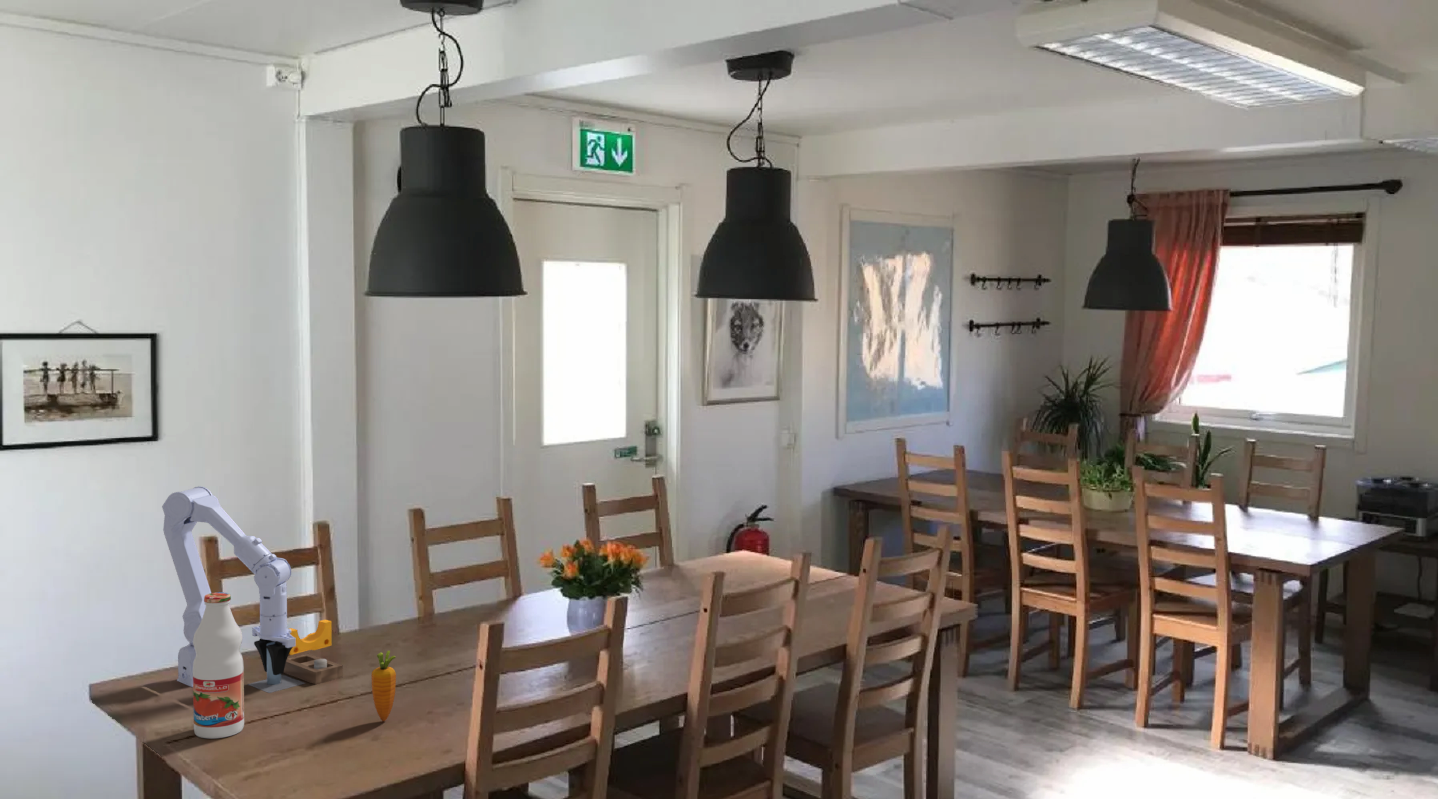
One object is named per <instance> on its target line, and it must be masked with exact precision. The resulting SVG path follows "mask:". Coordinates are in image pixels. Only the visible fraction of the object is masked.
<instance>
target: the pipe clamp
mask: <svg viewBox="0 0 1438 799" xmlns="http://www.w3.org/2000/svg"><path fill="white" fill-rule="evenodd" d="M288 629H291V633H290V634H291V635H292V636H293V637H294V638H296V646H294V647H293V648H292V649H291V651H290V653H289V655H290V656H293V655H296V654H301V653H303V652H307V651H311V650H312V651H316V650H320V649H324V648H328V647H330V646H333V645H332V641H333V640H332V634H333V633H332V632H333V631H332V629H333V628H332V620H328V619H322V620H318V624H317V628H316V630H315V631H314V632H311V633H308V634H307V635H306V636H305V637H303V638H300V636H299V632H298V629H295V628H291V627H289V628H288ZM289 655H288V656H289Z"/></svg>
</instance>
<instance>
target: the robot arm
mask: <svg viewBox="0 0 1438 799" xmlns="http://www.w3.org/2000/svg"><path fill="white" fill-rule="evenodd" d="M161 508H162V510H163V513H164V518H163V519H164V520H163V529H162V530H163V533H164V534H163V535H164V537H165V540H166V544H167V547H168V550H169V553H170V557H171V560H172V562H173V565H174V568H175V569H174V570H176V575H177V577H178V580H179V583H180V586H181V589H182V593H183V595H184V599H185V602H186V607H185V610H184V611H183V613H182V619H183V635H184V637H185V639H186V640H187V642H189V644H188V645H186V646H182V647H181V648H179V650H178V653H177V670H178V671H177V672H178V673H177V675H178V678H177V679H176V681H177V682H179V683H182V684H184V685H186V686H188V687H190V688H193V663H194V659H195V657H196V651H195V648H194V644H193V638H194V634H195V632H196V630H197V629H198V627H199V625H200V623H201V620H202V618H203V615H204V611H205V608H206V605H205V604H204V603H205V602H204V597H205V595H207V594H210V593H212V590H211V587H210V585H209V581H208V579H207V576H206V572H205V570H204V567H203V562H202V560H201V558H200V553H199V550H198V547H197V545H196V542H195V538H194V535H193V529H194V528H195V526H196V525H197V523H207V524H208V525H209V526H211V527H212V528H213V529H214V530H215V531H217V533H219V534H220V535H221V536H222V537H223V538H224V539H225V540H227V542H229V543H230V544H231V545H232V546H233V554H234V555H235V557H237V558H238V559H239V561H241V562H242V563H243V565H245V567H247V568H248V570H249V571H251V573H252V574H254V575H253V579H254V583H255V584H256V586H257V588H258V592H259V593H258V594H259V625H258V626H254V627H251V630H252V631H251V632H252V634H251V635H252V636H253V637H258V638H259V639H258V640H255V641H254V642H253V646H255V648H256V650H257V651H258V654H259V656H260V659H261V664H262V666H263V671H264V672H265V673H267V649H268V651H269V654H270V657H271V663H272V671H273V675H279V674H281V675H284V673H283V672H284V668H285V664H286V660H287V658H289V653H290V651H291V649H292V648H293V647H294V646H296V638H294V637H293V636H292V635H291V634H290V633H291V629H289V628H288V601H287V600H288V598H287V597H288V594H287V593H288V592H287V591H288V590H287V589H288V586H287V584H288V582H287V581H288V580H290V577H292V576H291V575H292V568H291V565H290V563H289V562H288V561H287V559H285V558H283V557H277V555H276V554H275V553H272V552H271V551H270V550H269V549H268V548H267V547H266V546H265V545H264V544H263V540H262V539H261V538H260V537H256V536H255V535H246V533H244V531H243V530H242V529H241V528H240V526H239V525H238V524H237V523H236V522H235V521H234V519H232V517H231V516H230V515H229V514H228V513H227V512H226V511H225V509H224V508H223V507H222V505H221V504H220V501H219V499H218V497H217V496H215V494H212V491H211V490H210V489H209V488H207V487H205V486H201V485H198V486H195V487H193V488H190V489H185V490H183V491H175V492H172V493H171V494H170V495H168V497H167V498H166V499H165V501H164V503H163V504H162V506H161ZM271 642H275V644H272V645H267V644H268V643H271Z"/></svg>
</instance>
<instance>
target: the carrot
mask: <svg viewBox="0 0 1438 799" xmlns="http://www.w3.org/2000/svg"><path fill="white" fill-rule="evenodd" d="M390 653H391V650H386V653H385V658H384V653H383V651H382V652H379V653H377V655H376V657H377V659H378V664H379V666H378V667H376V668H375V669H373V670H372V671H371V692H372V693H371V695H372V699H373V703H374V707H375V710H376V713H377V715H378V716H379V719H380V720H381V721H382V722H383V723H384V722H385V721H387V720H388V718H389V716H390V714H391V711H392V709H393V705H394V701H395V696H396V688H397V687H396V686H397V685H396V684H397V682H396V681H397V672H396V670H395V669H394V668H393V667H391V666H389V665H390V663H391V662H392V661H393V660H394V659H396V656H395V655H392V656H390Z"/></svg>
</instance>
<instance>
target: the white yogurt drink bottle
mask: <svg viewBox="0 0 1438 799" xmlns="http://www.w3.org/2000/svg"><path fill="white" fill-rule="evenodd" d="M231 600H232V597H231V594H230V593H229V592H225V591H224V592H220V591H218V592H211V593H210V594H207V595H205V597H204V602H205V603H204V604H205V605H206V608H205V611H204V615H203V618H202V620H201V623H200V625H199V627H198V629H197V630H196V632H195V634H194V638H193V644H194V648H195V651H196V657H195V659H194V663H193V687H192V696H193V697H192V700H193V701H192V702H193V732H194V734H195V736H196V737H198V738H200V739H201V738H202V739H212V740H213V739H222V738H227V737H231V736H234V735H237V734H239V733H240V732H242V731H243V730H244V727H245V688H244V687H245V684H244V682H245V680H244V679H245V678H244V677H245V676H244V675H245V673H244V671H245V667H244V659H243V655H242V653H241V647H242V643H243V632H242V629H241V628H240V626H239V625H238V623H237V622H236V620H235V618H234V615H233V613H232V610H231V606H230V604H231Z"/></svg>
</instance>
